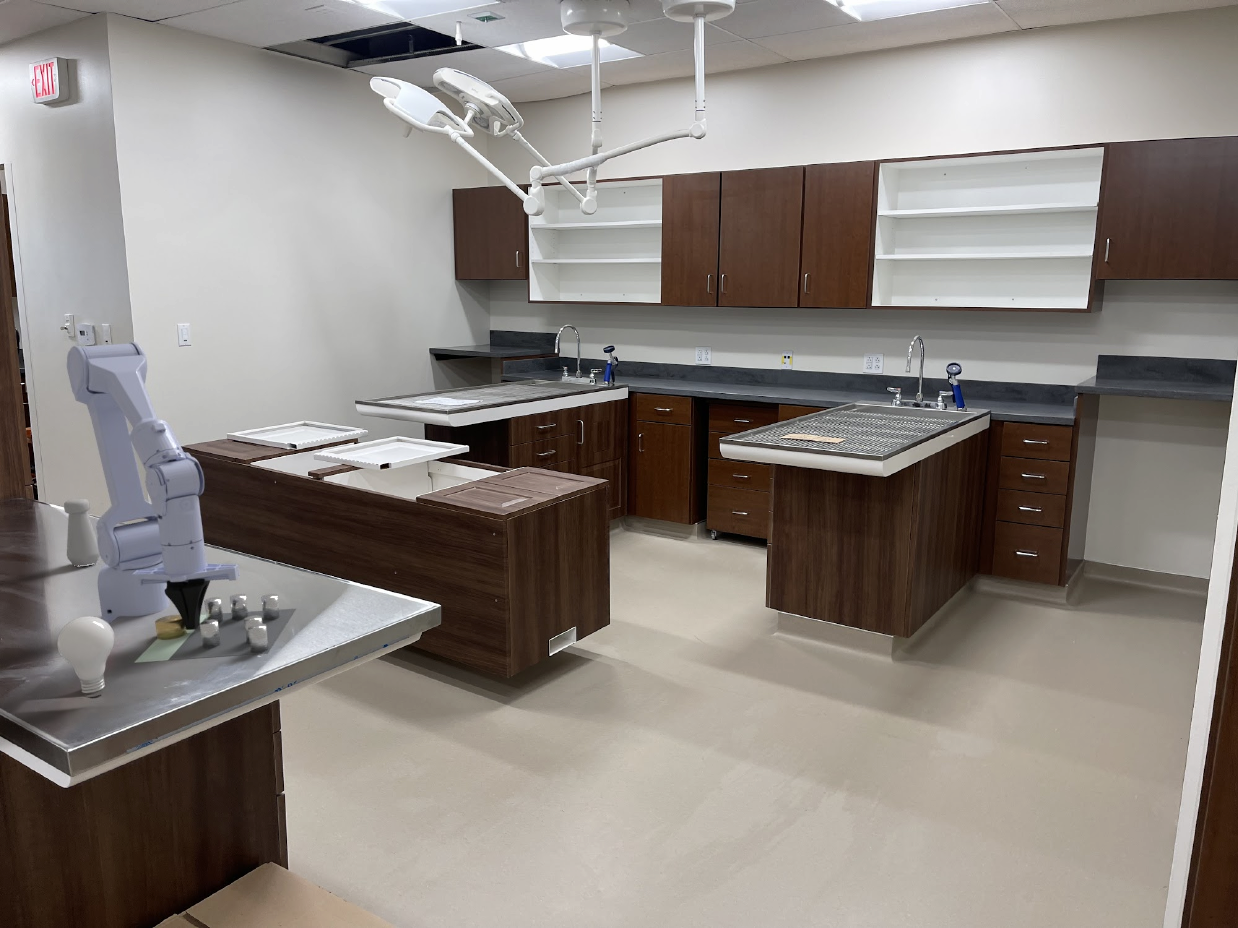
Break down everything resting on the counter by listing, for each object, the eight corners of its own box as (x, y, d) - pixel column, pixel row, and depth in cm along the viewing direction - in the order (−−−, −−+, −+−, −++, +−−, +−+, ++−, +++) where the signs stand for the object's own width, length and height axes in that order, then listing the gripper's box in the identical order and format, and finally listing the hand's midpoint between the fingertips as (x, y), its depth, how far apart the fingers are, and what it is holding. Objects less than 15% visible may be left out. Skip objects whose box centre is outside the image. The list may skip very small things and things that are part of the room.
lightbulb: (81, 687, 121) (69, 610, 119) (130, 685, 121) (119, 607, 119) (56, 709, 115) (43, 628, 112) (108, 706, 115) (96, 625, 113)
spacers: (174, 658, 127) (171, 635, 126) (211, 616, 143) (209, 595, 142) (266, 652, 128) (263, 629, 127) (292, 611, 144) (290, 590, 143)
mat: (135, 670, 126) (134, 662, 126) (180, 623, 144) (179, 616, 143) (268, 660, 128) (267, 652, 128) (297, 615, 146) (296, 608, 145)
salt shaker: (108, 562, 177) (99, 498, 174) (78, 570, 172) (68, 504, 170) (92, 558, 180) (83, 495, 177) (62, 566, 175) (52, 501, 173)
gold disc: (153, 640, 133) (151, 625, 133) (162, 630, 137) (160, 615, 137) (181, 638, 134) (179, 623, 133) (190, 628, 138) (188, 613, 137)
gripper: (119, 551, 128) (131, 640, 131) (225, 545, 130) (235, 633, 133) (138, 537, 135) (150, 623, 138) (239, 532, 137) (248, 616, 140)
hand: (193, 627), depth 136 cm, fingers closed
